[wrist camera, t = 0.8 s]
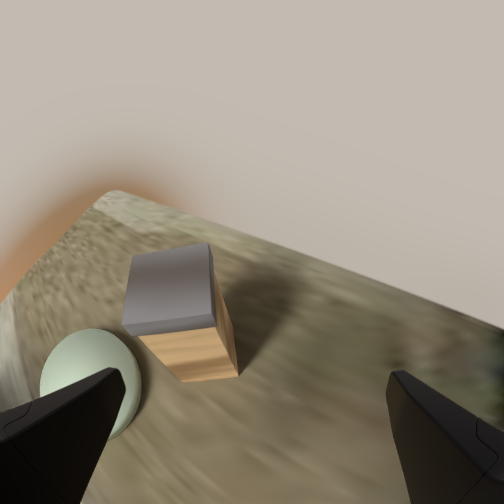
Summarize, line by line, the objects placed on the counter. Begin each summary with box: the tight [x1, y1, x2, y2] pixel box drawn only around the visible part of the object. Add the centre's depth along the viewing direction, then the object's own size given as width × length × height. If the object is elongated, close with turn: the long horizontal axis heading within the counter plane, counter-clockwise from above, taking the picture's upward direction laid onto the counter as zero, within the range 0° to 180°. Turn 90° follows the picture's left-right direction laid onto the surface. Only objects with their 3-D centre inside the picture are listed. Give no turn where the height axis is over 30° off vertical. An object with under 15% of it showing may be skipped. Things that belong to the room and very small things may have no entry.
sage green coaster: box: [40, 329, 142, 441], centre depth 23 cm, size 12×12×2 cm
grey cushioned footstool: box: [121, 242, 239, 382], centre depth 21 cm, size 5×5×11 cm
